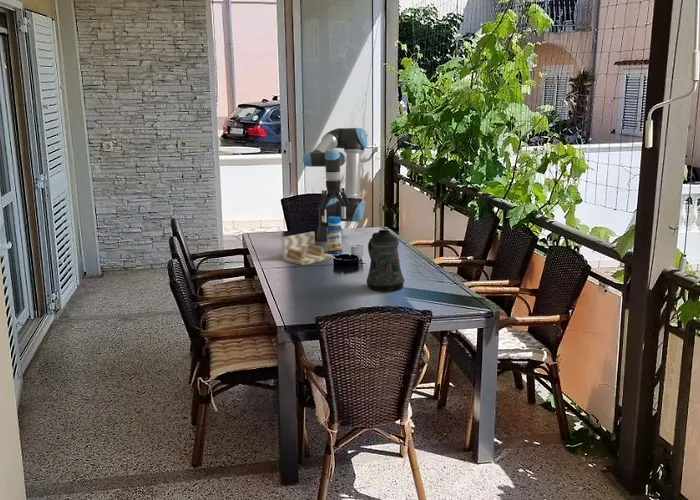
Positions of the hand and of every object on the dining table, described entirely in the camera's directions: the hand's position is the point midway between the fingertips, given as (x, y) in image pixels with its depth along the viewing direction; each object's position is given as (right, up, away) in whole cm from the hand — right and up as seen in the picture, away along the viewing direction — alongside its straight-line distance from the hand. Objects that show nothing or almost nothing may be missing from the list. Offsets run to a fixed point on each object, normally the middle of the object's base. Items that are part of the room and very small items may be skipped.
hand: (334, 220), depth 360 cm
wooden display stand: (-13, -20, -5) cm, 25 cm away
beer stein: (+23, -32, -58) cm, 70 cm away
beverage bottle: (0, -18, +4) cm, 19 cm away
